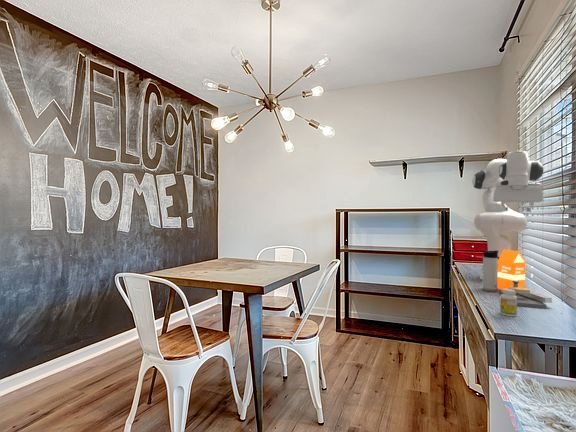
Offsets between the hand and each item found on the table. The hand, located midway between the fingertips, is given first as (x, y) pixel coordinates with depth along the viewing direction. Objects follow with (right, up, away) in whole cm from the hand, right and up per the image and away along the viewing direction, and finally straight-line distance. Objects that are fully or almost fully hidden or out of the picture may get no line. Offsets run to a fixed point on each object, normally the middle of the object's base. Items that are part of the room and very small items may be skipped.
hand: (516, 211), depth 163 cm
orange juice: (+2, -40, +7) cm, 40 cm away
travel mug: (-9, -40, +6) cm, 41 cm away
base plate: (-6, -40, -12) cm, 42 cm away
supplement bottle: (-26, -41, -33) cm, 58 cm away
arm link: (-3, -38, -13) cm, 41 cm away
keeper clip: (-8, -38, -14) cm, 42 cm away
